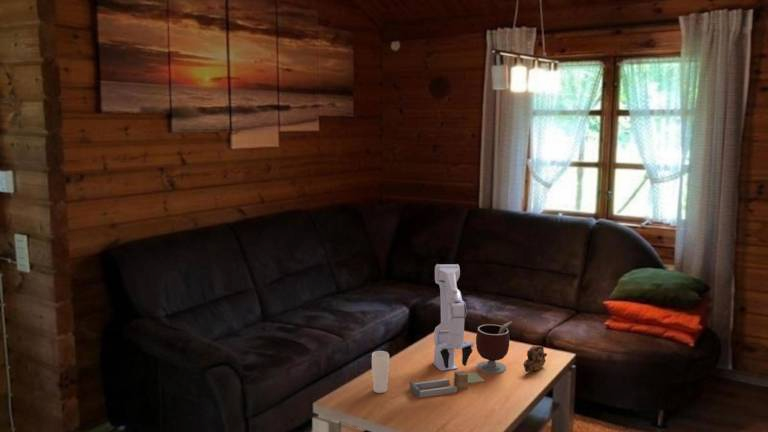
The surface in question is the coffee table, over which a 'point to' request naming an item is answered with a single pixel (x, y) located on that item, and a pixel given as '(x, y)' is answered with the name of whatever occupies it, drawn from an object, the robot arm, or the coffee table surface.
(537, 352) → the wooden carving
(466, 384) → the block
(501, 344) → the mate gourd
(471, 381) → the pad
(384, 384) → the drinking glass
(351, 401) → the coffee table surface
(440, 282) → the robot arm
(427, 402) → the coffee table surface
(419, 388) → the channel
